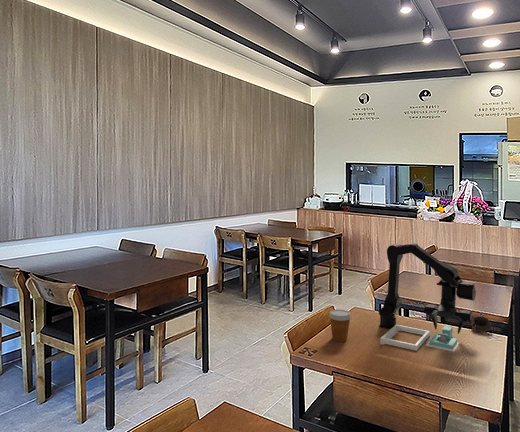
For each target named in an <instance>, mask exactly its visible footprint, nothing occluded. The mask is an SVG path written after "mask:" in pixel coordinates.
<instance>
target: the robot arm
mask: <svg viewBox="0 0 520 432" xmlns="http://www.w3.org/2000/svg"><path fill="white" fill-rule="evenodd" d="M406 254H407V255H408V254H412V255H413V256H415V257H416V258H418V259H419V260H421V261H422V262H423V263H425V264H426V265H427V266H429V267H430V268H431V269H432V270H434V272H435V273H436V275H437V276H438V277H439V278H440V280H439V281H438V282H437V283H436V285H437V286H440V287H441V293H440V294H441V296H440V303H439V306H438V307H437V305H435V304H429V303H428V304H426V306H425V307H424V308H423V313H424V314H426V315H427V316H429V317H430V319H431V320H432V323H433V326H434V330H437V328H438V317H439V318H446V319H451V317H452V316H455V317H459V318H460V319H459V320H458V328H457V334H458V335H459V334H460V332H461V330H462V328H463V326H464V324H465V323H467V322H469V321H470V320H471V319H472V316H473V311H472V310H468V309H467V310H466V309H462V310H461V311H457V307H456V301H457V298H459V299H462V300H467V301H475V300H476V296H477V295H476V294H477V290H476V287H475V286H476V285H475V283H466V282H464V281H463V280H462V278H461V277H460V275H459V272H458V270H457V268H455V267H454V266H452V265H451V264H448V263H444V262H442V261H441V260H439V259H438V258H436V257H435V256H433V255H432V254H431V253H429V252H428V251H426V250H425V249H424V248H423V247H421V246H420V245H418V243H410V244H409V243H408V244H400V243H395V244H391V245H389V246H388V247H387V248H386V259H387V260H388V264H389V267H388V268H389V269H388V281H387V282H388V284H387V285H388V286H387V294H386V296H385V299H384V301H383V307H381V308H380V309H379V310H378V314H379V316H380V317H379V325H378V328H382V329H387V330H390V329H391V328H393V327H394V326H395V325H397V317H396V313H397V311H398V310H399V309H400V308H401V307H402V306H403V303H402V302H403V297H402V296H400V294H399V282H400V268H401V262H402V260H403V257H404V255H406Z"/></svg>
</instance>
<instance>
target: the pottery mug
mask: <svg viewBox="0 0 520 432" xmlns="http://www.w3.org/2000/svg"><path fill="white" fill-rule="evenodd" d="M468 323H469V324H470V326H471V332H475V333H485V332H487V331H490V330H492V327H491V326H492V323H491V322H490V319H489V318H487V317H486V316H483V315H476V316H472V319H471V320H470V321H468Z"/></svg>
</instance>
